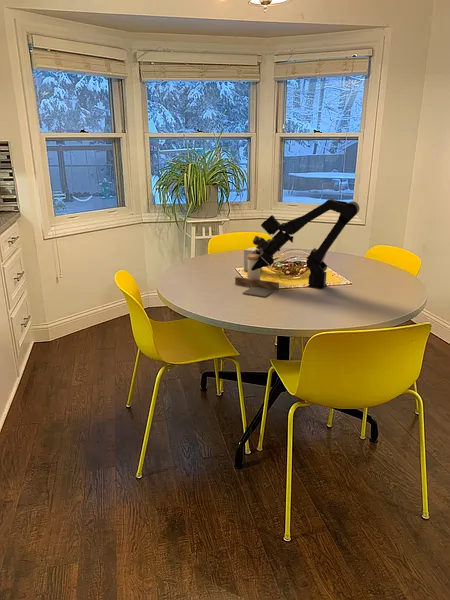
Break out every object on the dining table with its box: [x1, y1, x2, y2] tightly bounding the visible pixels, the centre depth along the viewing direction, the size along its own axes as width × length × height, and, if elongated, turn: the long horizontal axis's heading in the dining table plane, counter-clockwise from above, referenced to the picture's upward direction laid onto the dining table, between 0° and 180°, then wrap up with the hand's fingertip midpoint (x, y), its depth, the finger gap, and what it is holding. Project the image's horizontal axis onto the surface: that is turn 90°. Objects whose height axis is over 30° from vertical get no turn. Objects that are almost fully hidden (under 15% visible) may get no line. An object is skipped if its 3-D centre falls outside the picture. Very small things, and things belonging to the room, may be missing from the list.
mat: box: [242, 286, 275, 298], centre depth 189 cm, size 10×10×1 cm
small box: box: [243, 246, 263, 272], centre depth 221 cm, size 8×6×10 cm
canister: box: [247, 254, 261, 280], centre depth 201 cm, size 6×6×12 cm
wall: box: [234, 276, 280, 291], centre depth 196 cm, size 20×1×3 cm, turn 63°
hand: (250, 267), depth 201 cm, fingers open, 7 cm apart
